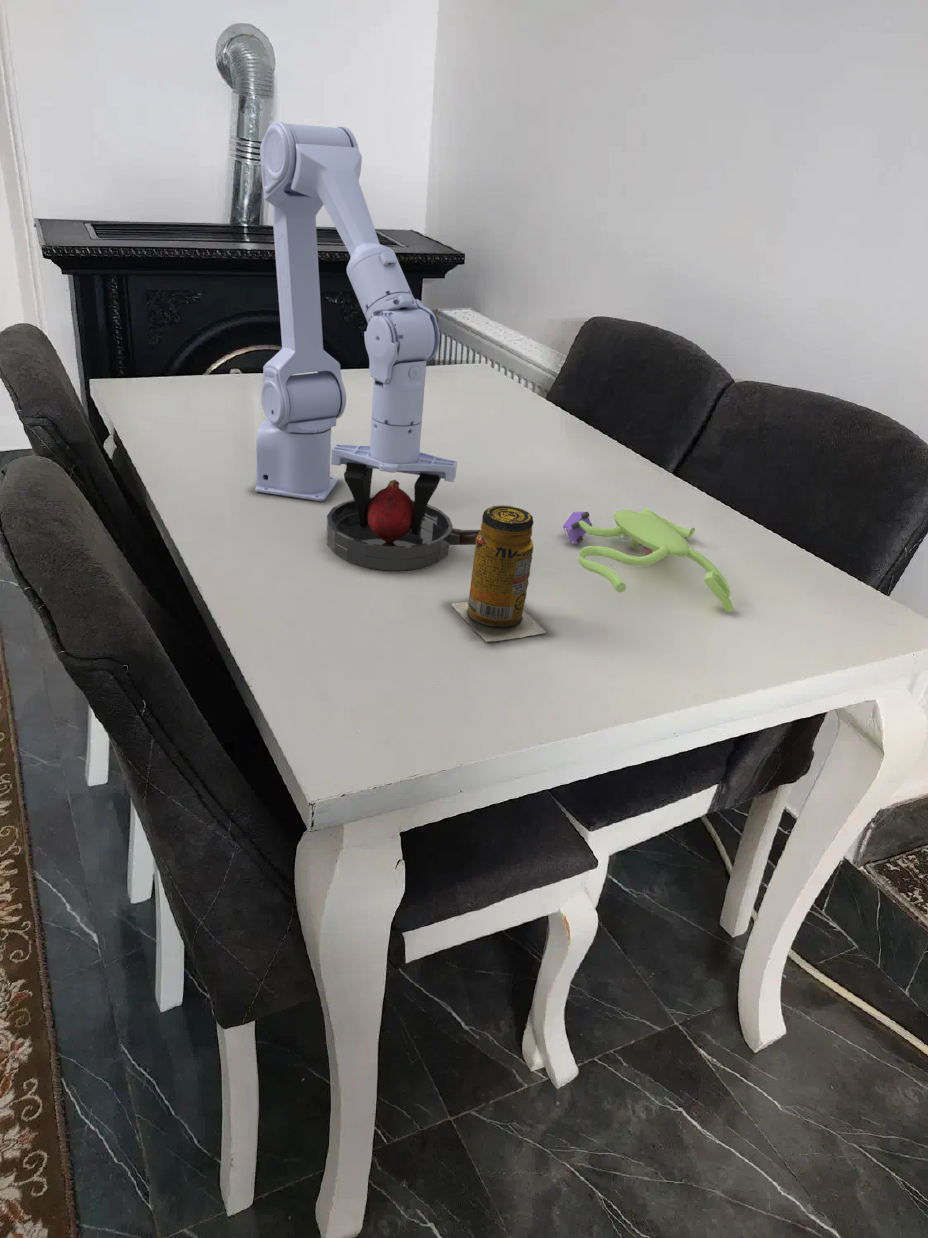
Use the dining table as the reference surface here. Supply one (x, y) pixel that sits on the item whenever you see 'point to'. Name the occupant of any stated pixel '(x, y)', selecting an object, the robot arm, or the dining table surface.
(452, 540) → the pan handle
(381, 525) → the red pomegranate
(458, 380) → the dining table surface
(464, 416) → the dining table surface
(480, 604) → the condiment
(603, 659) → the dining table surface
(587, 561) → the figurine
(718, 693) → the dining table surface
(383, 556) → the pan
